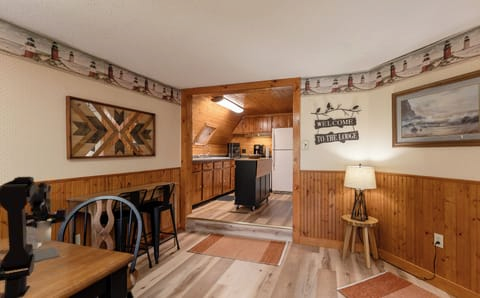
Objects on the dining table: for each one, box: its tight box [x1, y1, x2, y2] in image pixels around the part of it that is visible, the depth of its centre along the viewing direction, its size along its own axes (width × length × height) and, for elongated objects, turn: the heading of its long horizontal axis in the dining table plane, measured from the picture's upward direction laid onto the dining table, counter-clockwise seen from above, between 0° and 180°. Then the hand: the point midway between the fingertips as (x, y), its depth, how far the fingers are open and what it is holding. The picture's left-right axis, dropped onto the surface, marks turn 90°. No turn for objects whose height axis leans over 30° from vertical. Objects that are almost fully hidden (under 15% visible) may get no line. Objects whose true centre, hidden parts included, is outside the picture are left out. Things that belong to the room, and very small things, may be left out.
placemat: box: [33, 245, 61, 263], centre depth 115 cm, size 16×11×1 cm
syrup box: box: [26, 227, 43, 250], centre depth 123 cm, size 6×6×14 cm
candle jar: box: [36, 218, 52, 244], centre depth 115 cm, size 6×6×10 cm
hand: (44, 226), depth 117 cm, fingers closed on candle jar, 6 cm apart
